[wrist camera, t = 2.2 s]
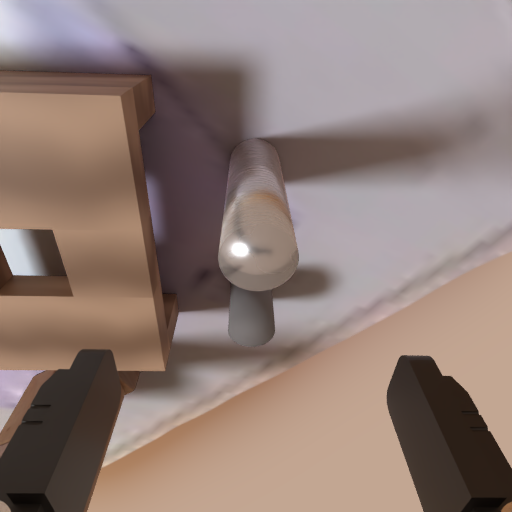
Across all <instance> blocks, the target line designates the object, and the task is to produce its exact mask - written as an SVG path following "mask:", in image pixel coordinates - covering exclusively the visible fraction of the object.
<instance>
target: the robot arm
mask: <svg viewBox="0 0 512 512" xmlns="http://www.w3.org/2000/svg"><path fill="white" fill-rule="evenodd" d="M120 398H121V384H120V379H119V375H118V371H117V368H116V364H115V360H114V356H113V352H112V351H111V350H110V349H82V350H80V351H79V352H78V354H77V355H76V357H75V359H74V361H73V363H72V365H71V367H70V369H58V370H57V371H56V372H55V373H54V374H53V375H52V376H51V377H50V378H49V379H48V380H46V381H45V382H44V383H43V384H42V385H41V387H40V389H39V390H38V392H37V394H36V396H35V397H34V399H33V401H32V403H31V407H30V409H28V410H27V412H26V413H25V415H24V417H23V419H22V422H21V425H19V426H18V428H17V429H16V431H15V433H14V435H13V437H12V438H11V440H10V442H9V444H8V445H7V447H6V449H5V451H4V452H3V454H2V456H1V458H0V512H84V509H85V506H86V503H87V500H88V497H89V494H90V491H91V488H92V485H93V482H94V479H95V476H96V473H97V470H98V467H99V464H100V461H101V458H102V455H103V452H104V449H105V446H106V443H107V440H108V437H109V434H110V431H111V428H112V425H113V422H114V419H115V417H116V414H117V411H118V407H119V404H120ZM387 405H388V410H389V413H390V416H391V419H392V422H393V425H394V427H395V431H396V433H397V436H398V439H399V442H400V445H401V448H402V451H403V453H404V456H405V459H406V462H407V465H408V467H409V471H410V473H411V476H412V479H413V482H414V485H415V488H416V491H417V494H418V496H419V499H420V502H421V505H422V507H423V511H424V512H512V468H511V467H510V465H509V463H508V462H507V460H506V458H505V456H504V455H503V453H502V451H501V450H500V448H499V446H498V444H497V442H496V441H495V439H494V437H493V435H492V434H491V432H490V431H488V428H487V425H486V423H485V422H484V420H483V418H482V417H481V415H479V413H478V410H477V408H476V406H475V404H474V403H473V401H472V399H471V398H470V396H469V394H468V392H467V391H466V390H465V389H464V388H463V387H462V386H461V385H460V384H459V383H457V382H456V381H455V380H454V379H453V378H452V377H451V376H442V374H441V372H440V370H439V369H438V367H437V365H436V363H435V361H434V360H433V359H432V358H431V357H430V356H407V355H404V356H401V357H400V358H399V360H398V362H397V365H396V368H395V370H394V374H393V376H392V379H391V381H390V384H389V387H388V390H387Z"/></svg>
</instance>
